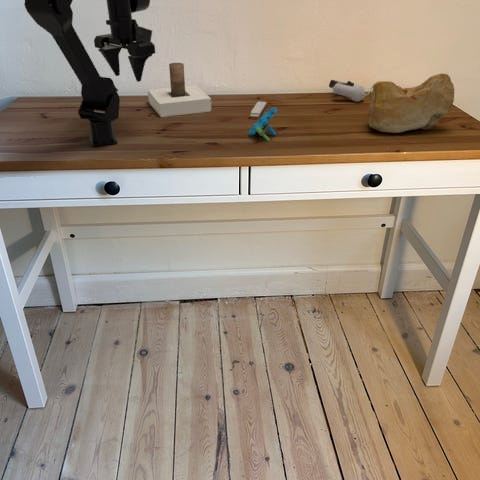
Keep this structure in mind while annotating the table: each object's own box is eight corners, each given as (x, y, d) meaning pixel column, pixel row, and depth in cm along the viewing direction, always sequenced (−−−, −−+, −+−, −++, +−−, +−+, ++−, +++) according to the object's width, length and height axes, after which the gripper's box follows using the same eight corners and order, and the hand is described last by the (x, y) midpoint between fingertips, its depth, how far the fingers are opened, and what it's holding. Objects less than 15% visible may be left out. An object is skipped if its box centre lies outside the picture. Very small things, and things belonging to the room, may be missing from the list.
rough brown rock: (426, 117, 144) (434, 66, 137) (454, 132, 129) (464, 75, 122) (353, 123, 142) (357, 71, 135) (373, 138, 127) (378, 80, 120)
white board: (211, 111, 145) (210, 98, 143) (160, 117, 140) (159, 103, 138) (195, 97, 158) (195, 85, 155) (148, 102, 152) (147, 90, 150)
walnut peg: (188, 108, 148) (185, 65, 141) (174, 109, 146) (171, 66, 139) (184, 103, 151) (181, 62, 144) (170, 105, 150) (167, 63, 143)
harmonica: (257, 105, 152) (258, 99, 151) (267, 106, 151) (267, 100, 150) (248, 120, 140) (248, 113, 139) (258, 121, 139) (258, 114, 138)
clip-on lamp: (376, 102, 164) (326, 90, 163) (382, 84, 161) (332, 71, 160) (384, 110, 154) (331, 96, 152) (391, 90, 151) (338, 76, 149)
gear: (252, 121, 133) (277, 99, 126) (266, 136, 134) (291, 115, 128) (241, 139, 125) (267, 117, 118) (256, 155, 126) (282, 134, 120)
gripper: (168, 15, 119) (173, 78, 127) (123, 9, 129) (130, 67, 137) (133, 20, 111) (141, 87, 120) (88, 13, 122) (98, 75, 130)
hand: (128, 78), depth 127 cm, fingers open, 9 cm apart
